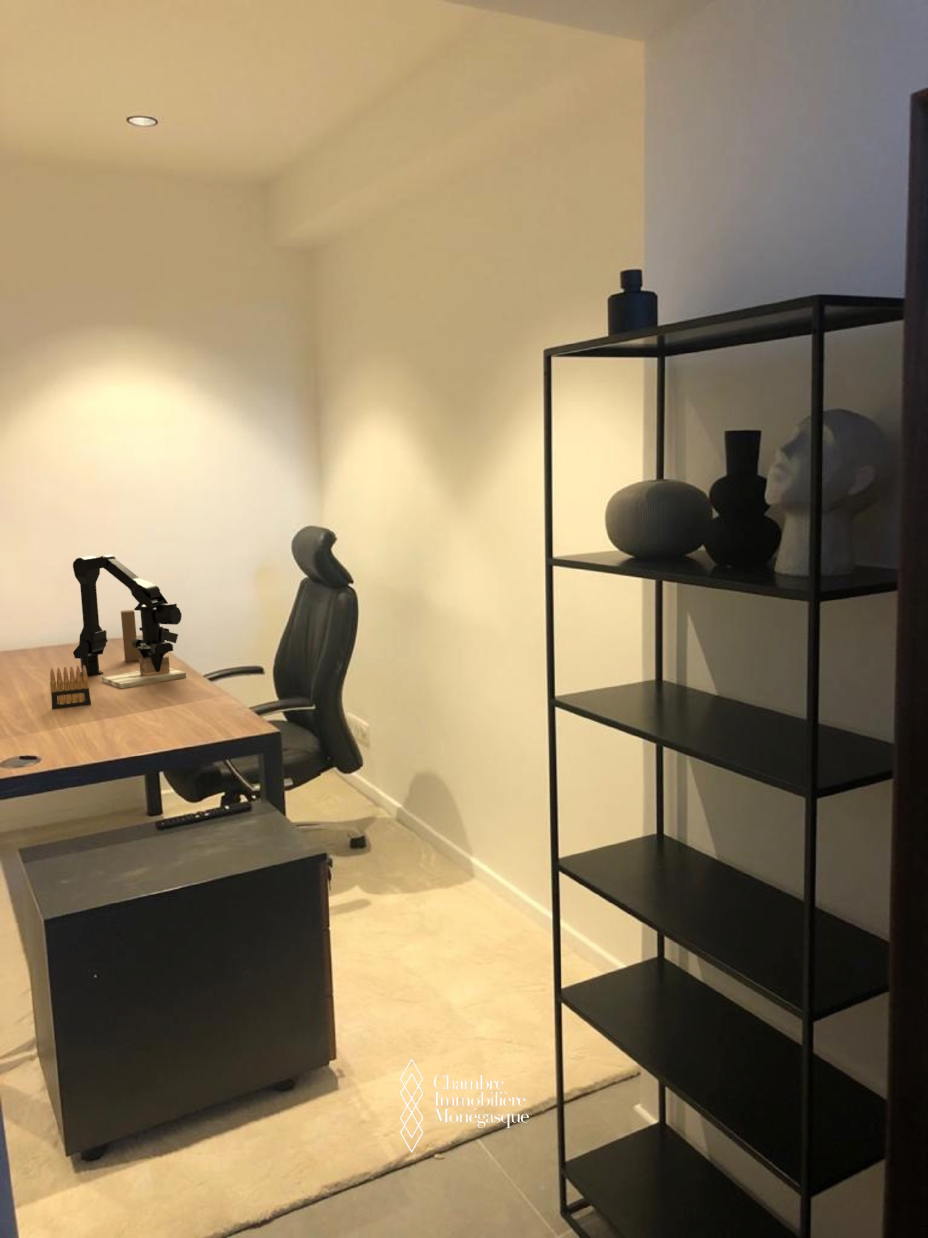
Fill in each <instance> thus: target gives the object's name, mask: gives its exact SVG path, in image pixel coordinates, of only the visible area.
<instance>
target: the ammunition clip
mask: <svg viewBox="0 0 928 1238" xmlns="http://www.w3.org/2000/svg"><path fill="white" fill-rule="evenodd" d="M80 672H81V668H80V666H79V665H77V666H76V670H75V671H74V668H73V666H70V669H69V673H68V669H67V667H66V666H64V668H63V673H61V669H60V668H59V667H57V670H56V676H55V672H54V669H53V668H50V673H49V675H50V678H49V680H50V681H49V684H50V685H49V686H50V696H51V709H52V710H53V711H54V710H61V709H68V708H69V709H70V708H77V707H78V708H79V707H88V706H92V699H91V693H90V685H89V684H90V683H89V678H88V677H89V676H87V670H86V667H85V665H83V676H82V675H81V673H80ZM62 674H63V676H62ZM75 674H76V675H75ZM62 677H63V678H62Z"/></svg>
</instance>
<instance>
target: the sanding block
mask: <svg viewBox="0 0 928 1238" xmlns="http://www.w3.org/2000/svg"><path fill="white" fill-rule="evenodd" d="M170 668H171V667H170V657H169V656H167V655H164V656H163V659H162V664H161V668H160V671H159V672H156V670H155V668H154V666H153V663H152V661H151V658H150V657H146V658H139V671H140V674H143V675H153V674H159V673H165V672H170Z"/></svg>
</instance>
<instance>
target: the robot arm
mask: <svg viewBox="0 0 928 1238" xmlns="http://www.w3.org/2000/svg"><path fill="white" fill-rule="evenodd" d="M101 569H104V570H106V571H107V572H108V573H109V574H110V575H111V576H113V577H114V578H115V579H117V580H118V581H119V582H120V583H121V584H123V585H124V586H125V587H126V588H128V590H129V591H130V594H131V596H132V597H133V598H134V599H135V601H136V602H137V605H136V606H135V607H134V609H133V610H134V611H139V612H140V622H141V624H140V625H141V626H140V627H138V628H139V631H141V634H142V637H137V638H134V640H133V641H132V647H135V648H137V647H138V646H139V649H137V651H138V652H139V653H140V655H141V656H142V658H146V657H150V658H151V661H152V663H153V666H154V668H155V670H156V672H159V671H160V668H161V664H162V659H163V656H166V654H167V653H169V652H173V651H174V644H177V640H178V636H179V633H175V632H172V631H170V629H169V628H166V627H163V626H161V625H171V626H172V625H175V626H176V625H178V624H180V623H181V621H182V612H181V610H180V608H179V607H178V606H177V605H178V604H177V603H169V602H168V601H167V599H166V598H165V597H164V595H163V594H162V593H161V589H160V588H159V586H158V585H156V584H154V583H153V582H151V581H148V580H145V579H142V578H140V577H139V576H138V575H136V574H135V573H134V572H133V571H131V570H130V569H129V568H128V567H127V566H126V565H124V564H123V563H121V562H120V560H118V559H117V558H116V557H115V556H114V555H113V554H106V555H105V554H104V555H101V556H98V557H96V556H94V555H89V556H82V557H78V558H76V559H75V560H73V563H72V570H73V573H74V577H75V579H76V580H77V581H78V583H79V585H80V598H81V599H80V600H81V611H82V625H83V626H82V629H81V632H80V634H79V641H78V642H79V643H78V646H77V647H76V648H75V649H74V651H73V652H72V654H73V656H74V659H78V660H79V659H80V660H79V661H80V673H81V677H83V665H85V667H86V670H87V677H91V676H98V675H102V674H104V671H101V670H100V663H99V662H100V661H99V656H100V655H103V653H104V651H105V650H104V649H105V648H106V646H107V643H108V638H107V630H106V629H102V627H101V626H100V619H99V608H98V607H99V606H98V604H99V603H98V594H97V593H98V592H97V581H98V579H99V577H100V575H101ZM172 643H173V644H172Z"/></svg>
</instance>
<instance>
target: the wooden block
mask: <svg viewBox="0 0 928 1238" xmlns="http://www.w3.org/2000/svg"><path fill="white" fill-rule="evenodd" d="M135 615H136V613H135V610H134V609H127V610H126V609H125V610H121V611H120V617H121V628H122V629H121V630H122V641H123V653H124V661H125V662H128V663H129V662H130V663H131V662H138V661H139V658H142V656H141V655H140V653H139V652H138V651H137V649H139V646H138V647H137V648H135V647H132V641H133V640H134V638H138V636H137V626H136V616H135Z"/></svg>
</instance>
